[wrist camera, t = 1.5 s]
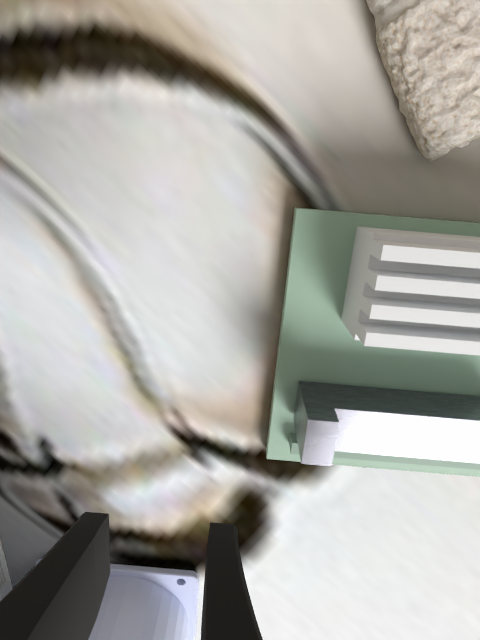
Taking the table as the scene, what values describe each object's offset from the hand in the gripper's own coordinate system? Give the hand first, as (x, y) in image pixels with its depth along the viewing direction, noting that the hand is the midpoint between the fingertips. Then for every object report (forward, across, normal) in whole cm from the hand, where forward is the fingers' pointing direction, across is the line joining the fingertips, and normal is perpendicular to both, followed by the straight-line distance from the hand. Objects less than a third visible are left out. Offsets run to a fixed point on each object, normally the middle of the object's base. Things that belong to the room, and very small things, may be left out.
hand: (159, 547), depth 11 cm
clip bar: (+9, -9, 0) cm, 13 cm away
